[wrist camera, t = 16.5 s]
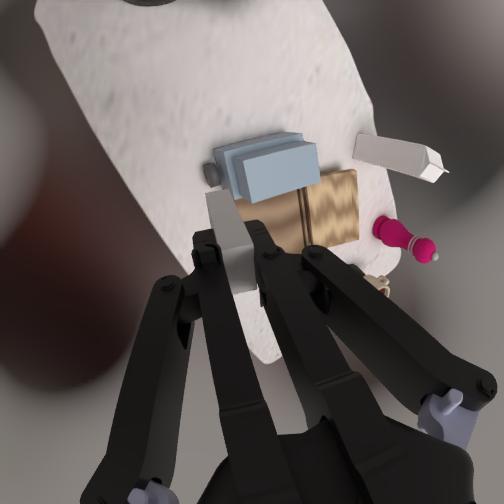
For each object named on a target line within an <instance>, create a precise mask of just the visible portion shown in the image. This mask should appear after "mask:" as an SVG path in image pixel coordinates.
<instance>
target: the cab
mask: <svg viewBox="0 0 504 504" xmlns="http://www.w3.org/2000/svg"><path fill="white" fill-rule="evenodd" d="M213 150H214V154H215V158H216V162H217V166H218V169H217V166H216V165H215V163H211V164H207V165H204V172H205V176H206V179H207V182H208V184H209V186H210V188H212V187H215V186H218V185H221V183H222V187H223V190H225V189H229V191H230V194H231V196H232V198H233V199H234V200H237V199H240V198H245V199H246V200H248V201H249V202H251V203H252V204H253V203H256V202H259V201H262V200H265V199H268V198H271V197H274V196H277V195H280V194H283V193H287V192H290V191H293V190H296V189H300V188H303V187H306V186H309V185H313V184H316V183H319V182H321V179H320V170H319V163H318V155H317V148H316V143H311V142H305V141H304V140H303V135H302V133H292V132H281V133H277V134H272V135H267V136H263V137H259V138H254V139H250V140H246V141H242V142H238V143H234V144H231V145H227V146H223V147H220V148H216V149H213Z"/></svg>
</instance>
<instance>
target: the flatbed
mask: <svg viewBox="0 0 504 504" xmlns="http://www.w3.org/2000/svg"><path fill="white" fill-rule="evenodd" d="M233 200H234V199H233ZM234 202H235V205H236V207H237V209H238V211H239V213H240V216H241V218H242V220H243V222H245V221H250V220H256V219H258V220H259V221H261V222H263V223H264V225H265V227H266V229H267V230H268V232H269V234H270V235H271V237H272V239H273V241H274V242H275V244H276V245H277V246H279V247H281V248H282V249H283V250H284V251H285V252H286V253H291V254H300V253H302V250H303V248H304V247H306V246H309V241H308V232H307V224H306V215H305V208H304V200H303V193H302V188H300V189H296V190H293V191H290V192H287V193H283V194H280V195H277V196H274V197H271V198H268V199H265V200H262V201H259V202H256V203H253V204H252V203H251V202H249V201H248V200H246V199H245V198H240V199H237V200H234Z"/></svg>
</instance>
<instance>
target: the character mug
mask: <svg viewBox="0 0 504 504" xmlns="http://www.w3.org/2000/svg"><path fill="white" fill-rule="evenodd" d="M350 267H351V268H352V269H354V270H355V271H356V272H357V273H359V274H360V275H361V276H362V277H363V278H365V279H366V280H367V281H368V282H370V283H371V284H372V285H373V286H374V287H376V288H377V289H378V290H379V291H380V292H382V293H383V294H384V295H385V296H386V297H389V294H390V289H389V287H388V286H387V284H388V283H389V280H388V279H387V278H385V277H384V276H382V275H381V276H379V277H378V278H376V277H374V276H372V275H365V274H364V273H363V272H362V271H361V270H360V269H359V268H358V267H357V266H356V265H350ZM381 280H383V281H385V282H384V283H383V282H381Z"/></svg>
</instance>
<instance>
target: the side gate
mask: <svg viewBox="0 0 504 504" xmlns="http://www.w3.org/2000/svg"><path fill="white" fill-rule="evenodd" d="M320 179H321V182H319V183H316V184H313V185H309V186H306V187H305V194H306V202H307V210H308V218H309V226H310V235H311V245H321V246H323V247H325V248H328V247H332V246H336V245H340V244H344V243H347V242H351V241H355V240H359V209H358V188H357V172H356V170H354V169H348V170H342V171H337V172H331V173H325V174H320Z"/></svg>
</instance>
